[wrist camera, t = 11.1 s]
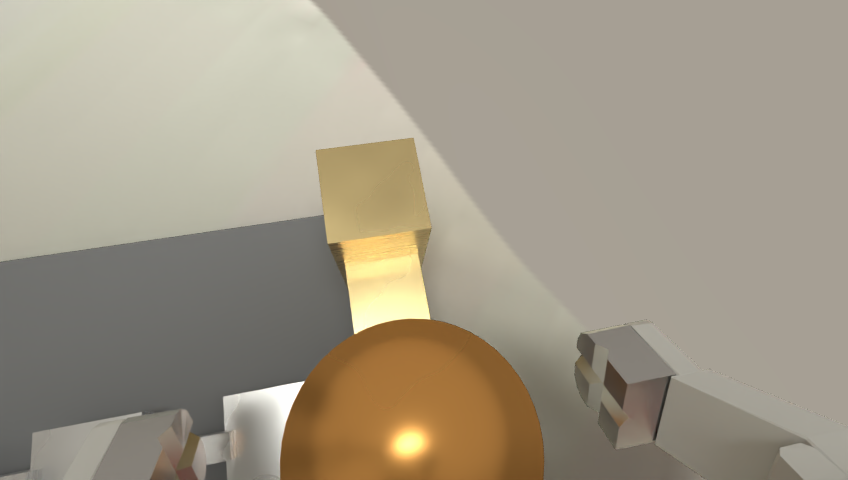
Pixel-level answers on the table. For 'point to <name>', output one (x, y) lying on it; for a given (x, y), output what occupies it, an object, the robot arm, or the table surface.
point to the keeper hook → (377, 228)
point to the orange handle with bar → (366, 416)
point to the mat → (164, 328)
